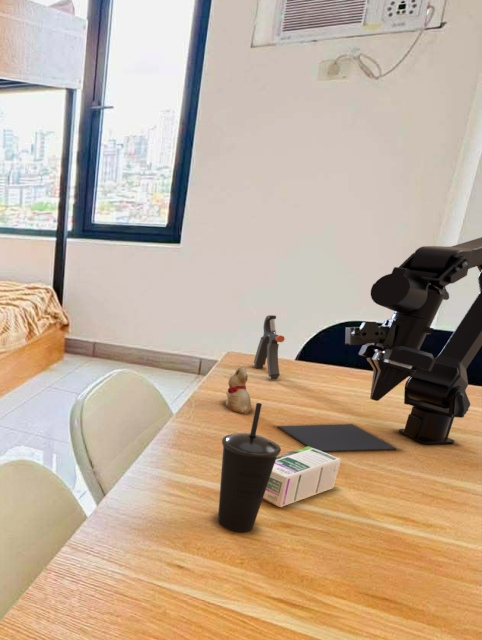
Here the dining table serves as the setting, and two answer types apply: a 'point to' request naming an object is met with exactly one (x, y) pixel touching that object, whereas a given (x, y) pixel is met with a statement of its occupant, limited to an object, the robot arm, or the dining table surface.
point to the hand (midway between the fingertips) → (373, 400)
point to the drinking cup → (244, 476)
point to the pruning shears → (269, 348)
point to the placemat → (336, 438)
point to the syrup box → (301, 476)
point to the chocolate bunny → (238, 392)
